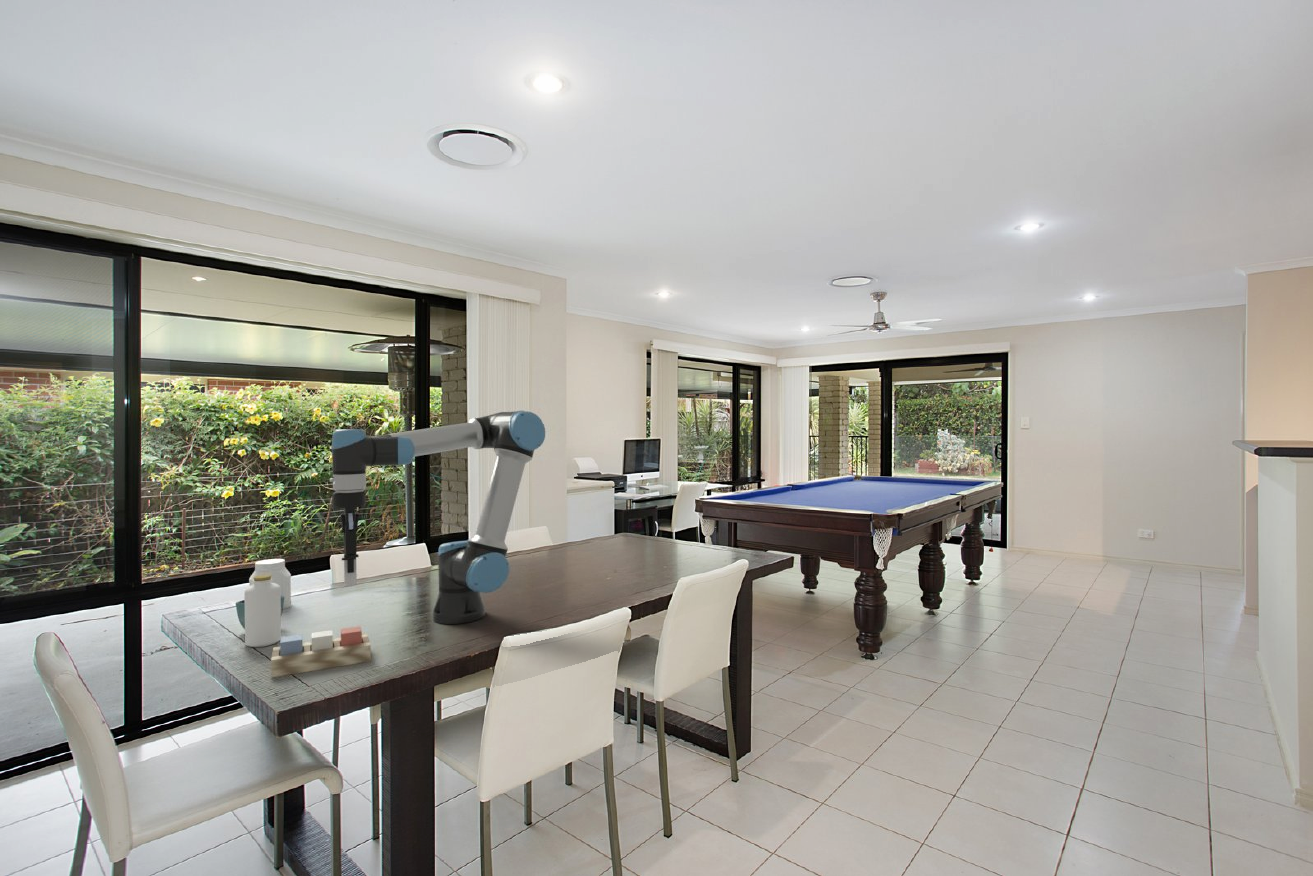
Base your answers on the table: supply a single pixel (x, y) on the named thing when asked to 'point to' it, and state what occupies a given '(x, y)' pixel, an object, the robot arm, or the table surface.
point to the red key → (351, 636)
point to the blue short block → (291, 645)
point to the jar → (275, 576)
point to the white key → (322, 640)
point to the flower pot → (241, 610)
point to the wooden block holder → (320, 657)
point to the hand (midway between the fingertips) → (350, 584)
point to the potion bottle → (262, 612)
